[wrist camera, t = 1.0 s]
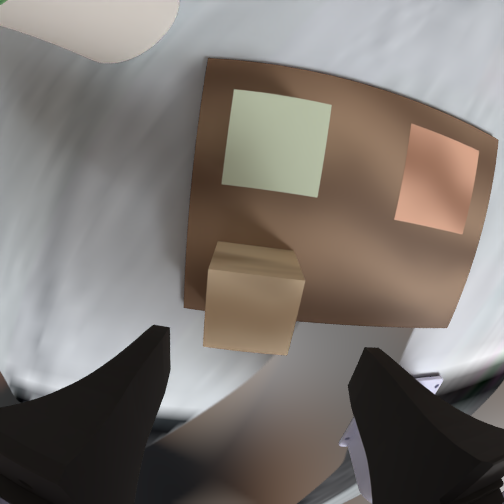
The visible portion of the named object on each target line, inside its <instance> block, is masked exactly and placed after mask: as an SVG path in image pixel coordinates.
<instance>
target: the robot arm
mask: <svg viewBox="0 0 504 504" xmlns="http://www.w3.org/2000/svg"><path fill="white" fill-rule="evenodd" d="M169 374H170V328H169V327H163V326H158V325H153V326H151V327H150V328H149V329H148V330H146V331H145V332H144V333H143V334H142V335H141V336H140V337H138V338H137V339H136V340H135V341H134V342H133V343H131V344H130V345H129V346H128V347H127V348H125V349H124V350H123V351H122V352H120V353H119V354H118V355H117V356H115V357H114V358H113V359H111V360H110V361H108V362H107V363H106V364H104V365H103V366H101V367H100V368H99V369H97V370H96V371H94V372H92V373H91V374H89V375H88V376H86V377H84V378H82V379H81V380H79V381H77V382H75V383H73V384H71V385H69V386H67V387H64V388H62V389H60V390H58V391H56V392H53V393H51V394H48V395H46V396H43V397H40V398H37V399H34V400H31V401H27V402H24V403H20V404H16V405H11V406H6V407H1V408H0V504H134V501H135V494H136V488H137V482H138V478H139V472H140V467H141V463H142V458H143V454H144V450H145V446H146V443H147V440H148V437H149V434H150V431H151V429H152V426H153V423H154V421H155V418H156V415H157V413H158V410H159V407H160V405H161V402H162V399H163V397H164V394H165V390H166V386H167V382H168V378H169ZM442 382H443V378H442V377H441V376H435V377H425V378H414V377H413V376H411V375H410V374H409V373H408V372H407V371H406V370H404V369H403V368H402V367H401V366H400V365H399V364H398V363H396V362H395V361H394V360H393V359H392V358H391V357H389V356H388V355H387V354H386V353H384V352H383V351H382V350H381V349H379V348H367V347H365V348H364V350H363V353H362V355H361V357H360V360H359V362H358V365H357V367H356V369H355V371H354V373H353V375H352V378H351V380H350V382H349V384H348V390H349V396H350V402H351V407H352V411H353V414H354V417H353V419H352V421H351V423H350V424H349V426H348V428H347V429H346V431H345V433H344V435H343V436H342V438H341V439H340V441H339V446H348V449H349V452H350V456H351V460H352V464H353V468H354V472H355V476H356V480H357V484H358V488H359V491H360V493H361V494H362V496H363V497H364V498H365V499H366V500H368V501H369V502H371V503H372V504H504V491H503V492H501V490H500V487H502V486H503V481H502V479H501V478H502V477H503V476H504V429H502V428H498V427H495V426H493V425H490V424H487V423H484V422H482V421H480V420H477V419H475V418H473V417H471V416H469V415H467V414H465V413H464V412H462V411H460V410H458V409H456V408H455V407H453V406H452V405H450V404H448V403H447V402H445V401H444V400H442V399H441V398H439V397H438V396H436V395H435V393H436V391H437V390H438V388H439V387H440V385H441V383H442Z"/></svg>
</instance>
